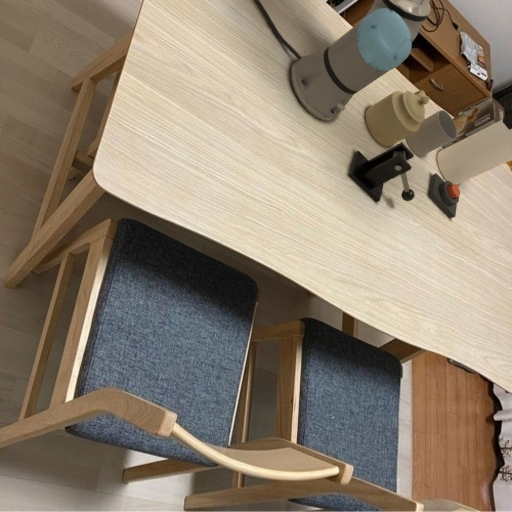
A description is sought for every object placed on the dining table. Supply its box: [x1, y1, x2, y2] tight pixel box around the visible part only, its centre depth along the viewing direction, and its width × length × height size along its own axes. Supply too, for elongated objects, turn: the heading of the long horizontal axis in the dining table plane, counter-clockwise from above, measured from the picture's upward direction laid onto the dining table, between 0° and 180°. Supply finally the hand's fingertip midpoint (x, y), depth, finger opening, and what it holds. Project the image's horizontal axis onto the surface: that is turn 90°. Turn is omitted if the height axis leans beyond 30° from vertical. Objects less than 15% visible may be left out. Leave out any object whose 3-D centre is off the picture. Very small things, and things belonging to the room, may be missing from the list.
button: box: [447, 184, 461, 199], centre depth 152 cm, size 4×4×2 cm
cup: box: [406, 109, 457, 157], centre depth 152 cm, size 8×8×10 cm
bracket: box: [347, 141, 415, 203], centre depth 130 cm, size 10×8×12 cm
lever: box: [393, 151, 415, 202], centre depth 131 cm, size 14×3×3 cm, turn 68°
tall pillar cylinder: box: [436, 119, 512, 186], centre depth 154 cm, size 11×11×25 cm
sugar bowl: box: [365, 89, 431, 147], centre depth 141 cm, size 15×11×15 cm
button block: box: [427, 172, 460, 219], centre depth 153 cm, size 10×8×4 cm
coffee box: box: [442, 96, 506, 149], centre depth 163 cm, size 9×6×16 cm
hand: (506, 123), depth 130 cm, fingers closed
